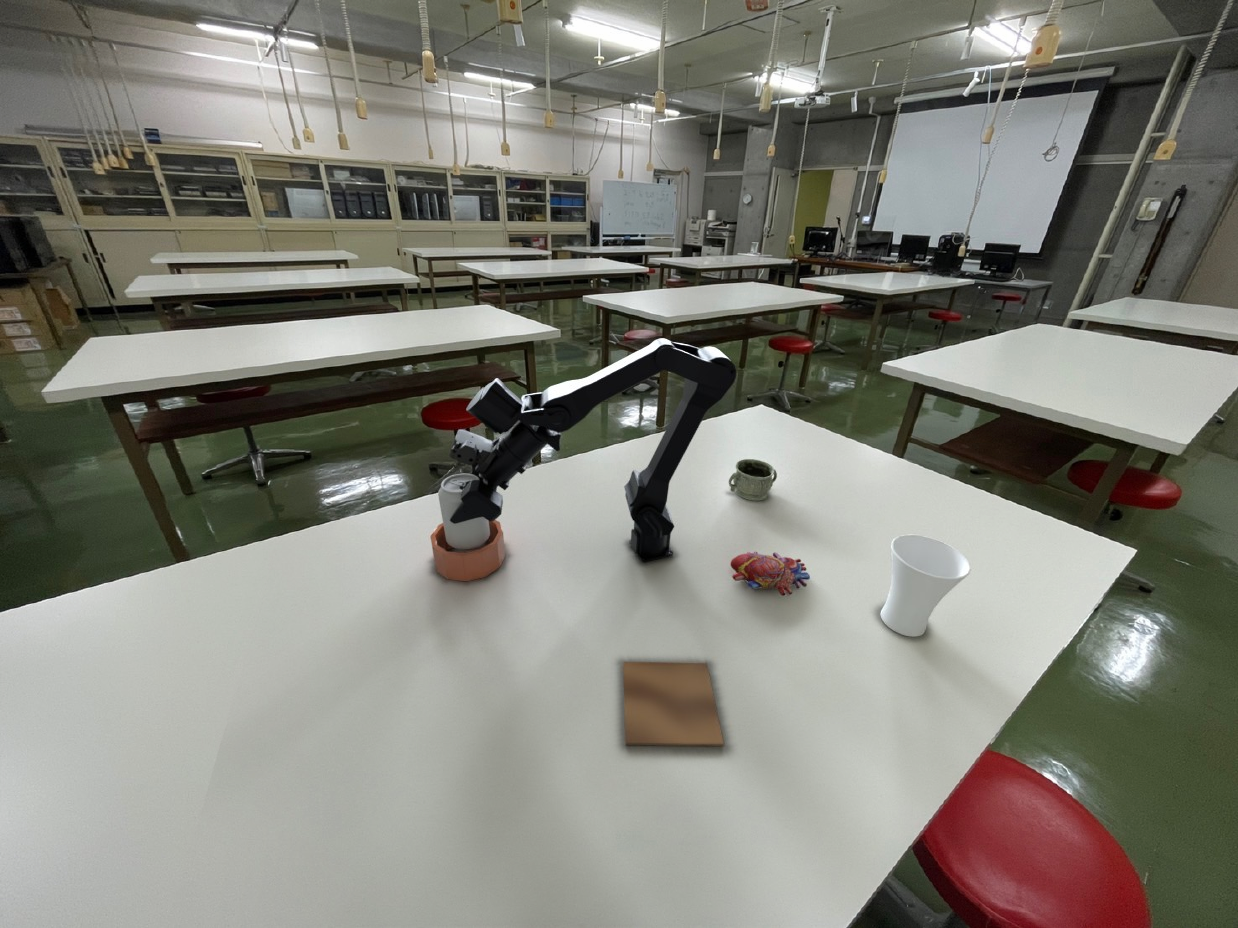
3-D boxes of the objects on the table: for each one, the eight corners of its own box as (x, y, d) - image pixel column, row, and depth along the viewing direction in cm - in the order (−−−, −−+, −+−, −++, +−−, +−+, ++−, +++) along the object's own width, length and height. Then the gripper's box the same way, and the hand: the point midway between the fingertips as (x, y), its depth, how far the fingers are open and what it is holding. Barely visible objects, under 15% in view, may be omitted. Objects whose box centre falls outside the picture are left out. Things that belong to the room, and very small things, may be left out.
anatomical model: (720, 550, 88) (782, 540, 94) (715, 567, 89) (777, 556, 96) (762, 591, 79) (828, 576, 85) (756, 609, 80) (821, 593, 87)
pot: (497, 532, 97) (495, 509, 95) (510, 571, 87) (508, 546, 85) (432, 546, 93) (428, 521, 90) (438, 587, 83) (434, 562, 81)
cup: (932, 608, 83) (961, 542, 77) (946, 655, 74) (980, 586, 68) (864, 592, 86) (887, 528, 80) (870, 636, 77) (896, 568, 71)
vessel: (764, 479, 120) (768, 456, 117) (784, 499, 112) (789, 474, 109) (718, 484, 117) (722, 461, 114) (735, 504, 109) (739, 480, 106)
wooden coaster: (623, 663, 71) (623, 661, 71) (706, 664, 71) (706, 662, 71) (625, 745, 61) (625, 743, 60) (723, 745, 61) (723, 743, 61)
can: (479, 556, 84) (470, 495, 79) (438, 549, 86) (427, 489, 80) (497, 530, 91) (491, 473, 85) (459, 524, 92) (450, 468, 86)
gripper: (484, 396, 86) (427, 455, 90) (468, 443, 69) (400, 513, 73) (533, 436, 90) (477, 490, 94) (529, 489, 74) (462, 552, 78)
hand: (456, 508), depth 85 cm, fingers closed on can, 7 cm apart
